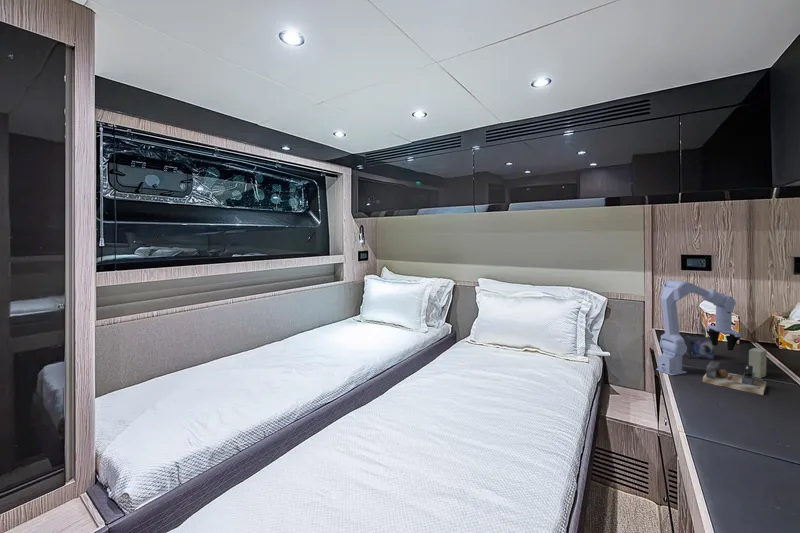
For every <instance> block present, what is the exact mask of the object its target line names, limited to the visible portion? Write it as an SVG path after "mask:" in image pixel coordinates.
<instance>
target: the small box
mask: <svg viewBox="0 0 800 533" xmlns="http://www.w3.org/2000/svg"><path fill="white" fill-rule="evenodd" d="M685 344H686V346H687V351H686V353H685V354H684V355H685V356H687V358H689V359H695V360H696V359H697V360H708V361H709V360H710V361H714V360H715V346H713V345H712V342H711V339H710V337H708V336H695V335H694V336H692V335H685Z"/></svg>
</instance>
